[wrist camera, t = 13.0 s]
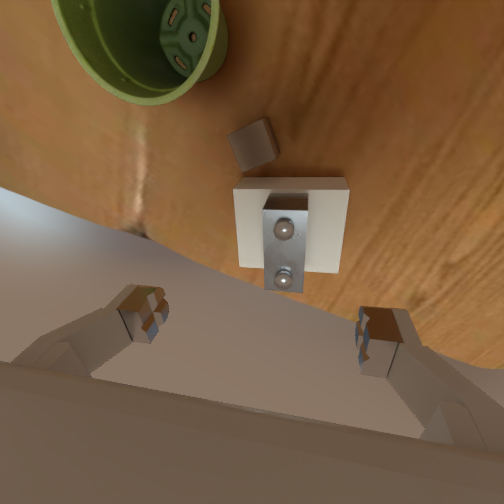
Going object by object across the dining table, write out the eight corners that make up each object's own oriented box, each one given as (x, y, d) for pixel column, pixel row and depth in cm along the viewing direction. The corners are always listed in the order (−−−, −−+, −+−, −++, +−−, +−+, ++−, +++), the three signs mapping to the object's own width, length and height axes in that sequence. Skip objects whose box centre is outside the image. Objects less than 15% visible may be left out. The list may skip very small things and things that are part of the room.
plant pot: (239, 118, 29) (203, 125, 19) (141, 88, 29) (58, 80, 20) (268, -28, 23) (236, -125, 13) (142, -64, 23) (23, -181, 13)
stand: (344, 177, 30) (349, 189, 25) (334, 251, 35) (338, 273, 30) (243, 177, 32) (232, 189, 28) (248, 247, 37) (239, 266, 33)
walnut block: (268, 116, 28) (262, 118, 25) (280, 152, 30) (276, 159, 26) (236, 131, 30) (226, 135, 26) (249, 165, 31) (241, 172, 28)
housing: (303, 266, 31) (302, 297, 26) (270, 264, 31) (263, 294, 27) (308, 193, 26) (307, 214, 21) (269, 192, 27) (260, 212, 22)
